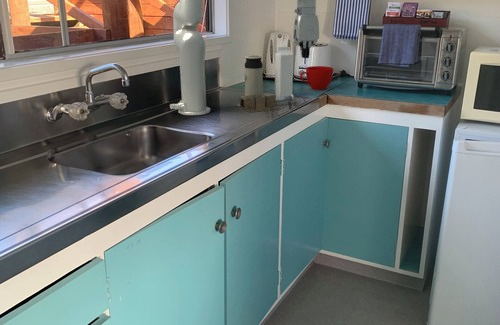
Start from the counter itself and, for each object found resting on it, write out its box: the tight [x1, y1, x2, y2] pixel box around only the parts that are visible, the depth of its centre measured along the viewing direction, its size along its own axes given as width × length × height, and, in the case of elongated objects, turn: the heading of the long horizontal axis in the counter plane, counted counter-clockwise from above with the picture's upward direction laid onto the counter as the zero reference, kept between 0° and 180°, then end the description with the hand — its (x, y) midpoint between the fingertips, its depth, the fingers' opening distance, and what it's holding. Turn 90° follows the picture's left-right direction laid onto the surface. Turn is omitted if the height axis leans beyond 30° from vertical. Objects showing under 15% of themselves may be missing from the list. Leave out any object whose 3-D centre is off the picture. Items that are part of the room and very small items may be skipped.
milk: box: [274, 46, 294, 97], centre depth 224 cm, size 6×6×22 cm
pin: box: [276, 93, 295, 103], centre depth 210 cm, size 16×3×3 cm, turn 115°
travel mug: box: [244, 54, 264, 96], centre depth 225 cm, size 8×8×18 cm
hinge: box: [235, 92, 281, 114], centre depth 206 cm, size 14×13×5 cm
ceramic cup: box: [299, 65, 334, 91], centre depth 242 cm, size 13×17×10 cm
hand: (305, 57), depth 210 cm, fingers closed
